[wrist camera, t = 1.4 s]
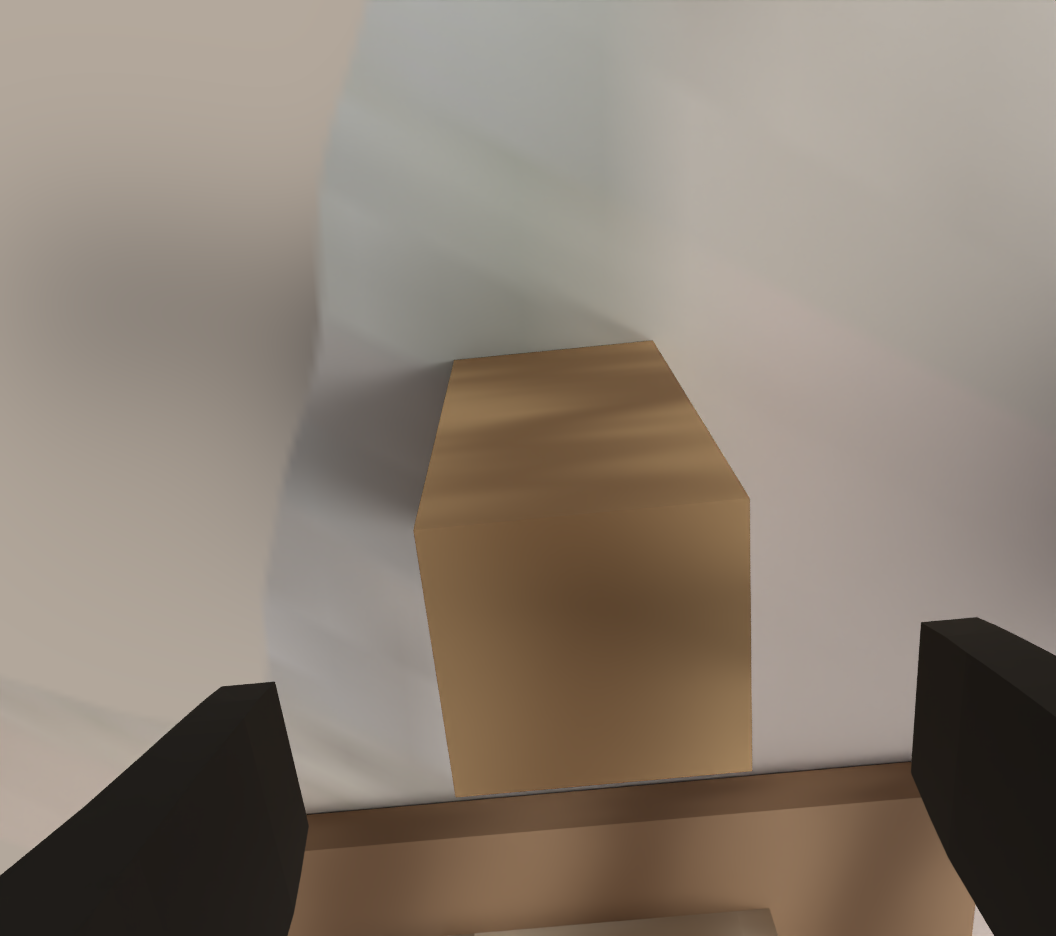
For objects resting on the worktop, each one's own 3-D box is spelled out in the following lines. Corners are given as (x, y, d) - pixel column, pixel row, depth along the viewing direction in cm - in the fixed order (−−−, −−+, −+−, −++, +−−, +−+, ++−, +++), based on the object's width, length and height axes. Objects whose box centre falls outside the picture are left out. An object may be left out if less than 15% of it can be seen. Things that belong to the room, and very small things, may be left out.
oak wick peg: (652, 340, 18) (749, 498, 11) (661, 521, 20) (752, 770, 12) (454, 360, 18) (412, 530, 11) (477, 538, 20) (456, 796, 12)
